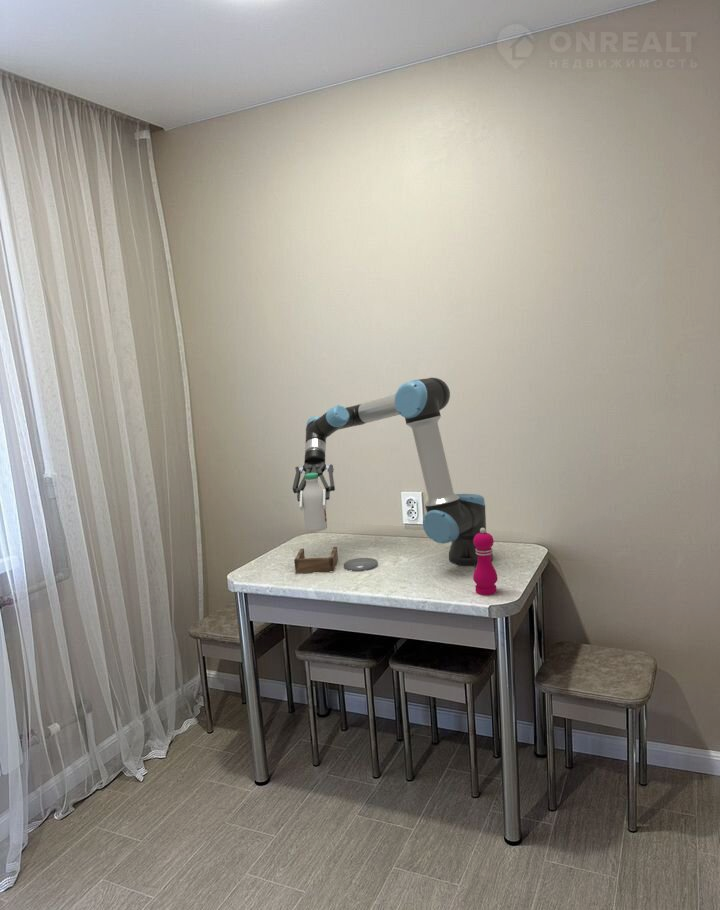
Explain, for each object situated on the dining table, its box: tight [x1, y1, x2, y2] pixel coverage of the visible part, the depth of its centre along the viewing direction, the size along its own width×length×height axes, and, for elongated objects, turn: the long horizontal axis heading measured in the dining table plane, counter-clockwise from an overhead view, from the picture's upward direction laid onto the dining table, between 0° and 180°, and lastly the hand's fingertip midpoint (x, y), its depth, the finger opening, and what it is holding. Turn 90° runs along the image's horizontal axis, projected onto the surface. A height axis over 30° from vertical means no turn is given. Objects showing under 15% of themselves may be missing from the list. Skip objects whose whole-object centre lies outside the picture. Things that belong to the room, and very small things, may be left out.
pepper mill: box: [473, 528, 498, 596], centre depth 212 cm, size 7×7×20 cm
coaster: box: [343, 557, 379, 572], centre depth 248 cm, size 12×12×1 cm
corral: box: [293, 546, 339, 574], centre depth 250 cm, size 13×13×5 cm
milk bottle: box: [303, 473, 328, 532], centre depth 247 cm, size 8×8×20 cm
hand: (312, 507), depth 244 cm, fingers closed on milk bottle, 7 cm apart
